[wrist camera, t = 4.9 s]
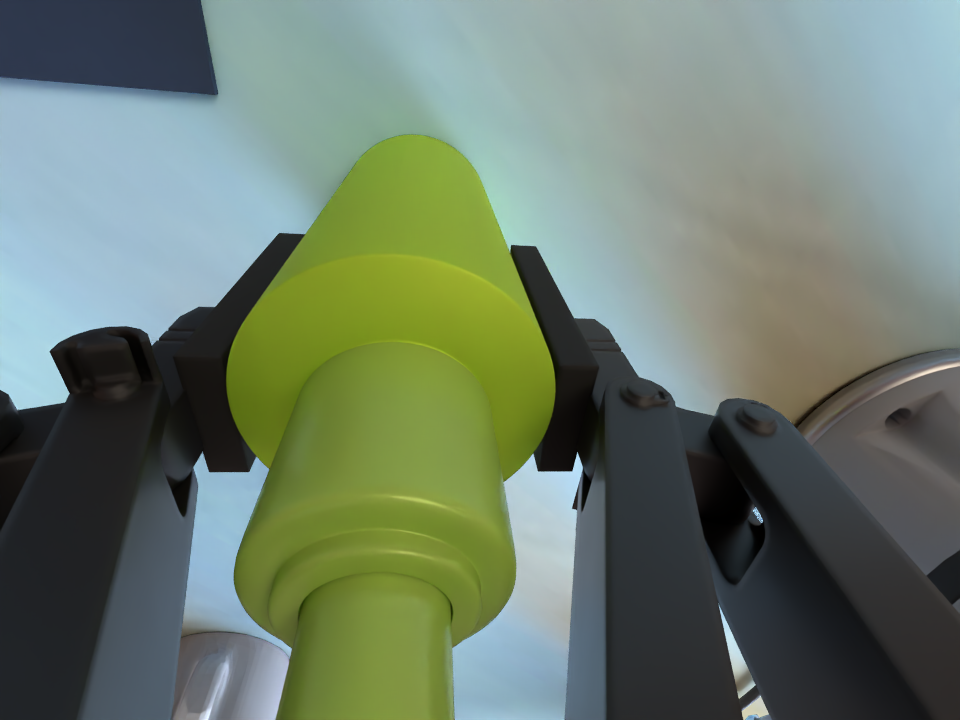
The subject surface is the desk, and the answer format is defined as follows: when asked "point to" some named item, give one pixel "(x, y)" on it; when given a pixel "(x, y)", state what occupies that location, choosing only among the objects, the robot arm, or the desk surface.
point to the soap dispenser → (387, 435)
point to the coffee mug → (228, 678)
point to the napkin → (108, 43)
